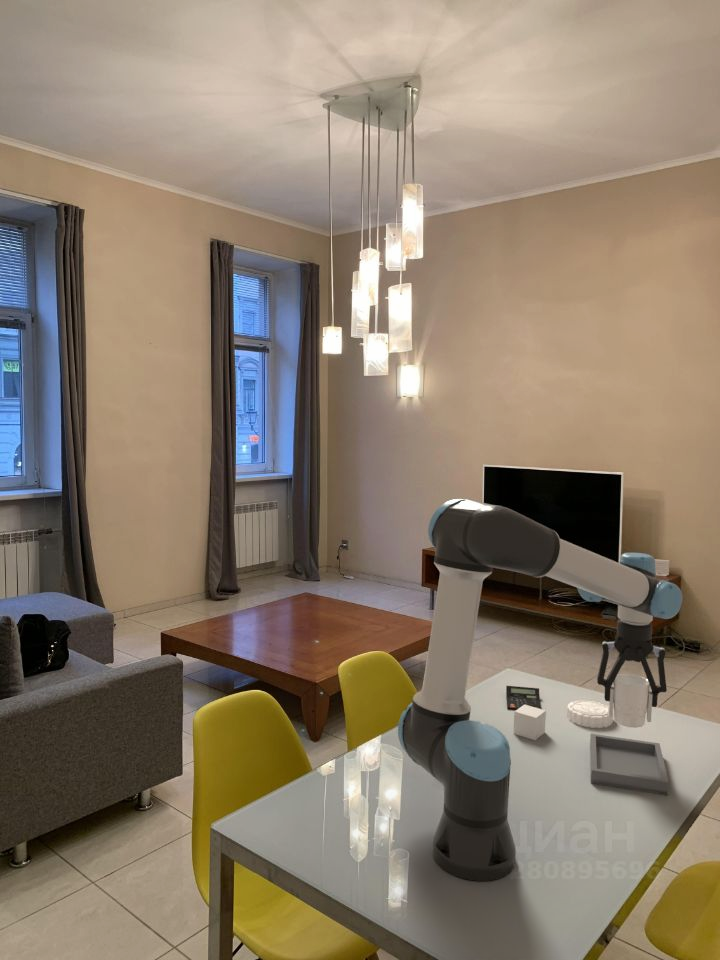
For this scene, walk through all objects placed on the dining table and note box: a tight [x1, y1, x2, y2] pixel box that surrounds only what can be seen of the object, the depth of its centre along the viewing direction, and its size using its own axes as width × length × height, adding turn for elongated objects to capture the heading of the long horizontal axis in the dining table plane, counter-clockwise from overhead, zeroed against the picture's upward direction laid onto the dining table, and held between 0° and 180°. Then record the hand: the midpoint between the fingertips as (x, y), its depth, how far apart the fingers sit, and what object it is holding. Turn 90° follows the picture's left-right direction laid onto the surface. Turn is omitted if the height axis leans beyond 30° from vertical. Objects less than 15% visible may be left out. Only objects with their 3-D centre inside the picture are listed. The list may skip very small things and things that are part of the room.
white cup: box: [612, 673, 650, 728], centre depth 168 cm, size 8×8×10 cm
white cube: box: [513, 705, 547, 741], centre depth 187 cm, size 6×6×6 cm
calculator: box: [505, 685, 542, 711], centre depth 207 cm, size 9×12×3 cm
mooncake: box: [566, 699, 614, 729], centre depth 197 cm, size 12×12×4 cm
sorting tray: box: [589, 733, 670, 796], centre depth 169 cm, size 20×16×3 cm
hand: (629, 716), depth 168 cm, fingers closed on white cup, 8 cm apart
